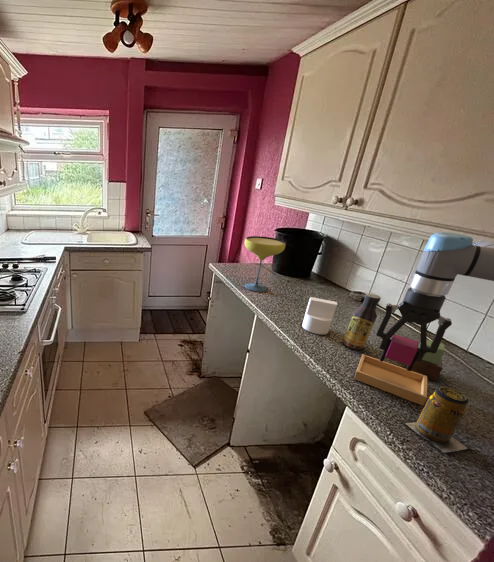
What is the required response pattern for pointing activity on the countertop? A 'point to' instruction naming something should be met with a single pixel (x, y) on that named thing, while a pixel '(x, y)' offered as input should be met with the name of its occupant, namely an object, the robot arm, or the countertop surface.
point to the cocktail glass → (262, 254)
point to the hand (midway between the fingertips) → (395, 363)
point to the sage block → (434, 354)
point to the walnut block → (427, 369)
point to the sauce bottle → (362, 322)
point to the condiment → (441, 419)
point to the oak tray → (392, 379)
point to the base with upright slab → (319, 315)
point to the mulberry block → (402, 349)
